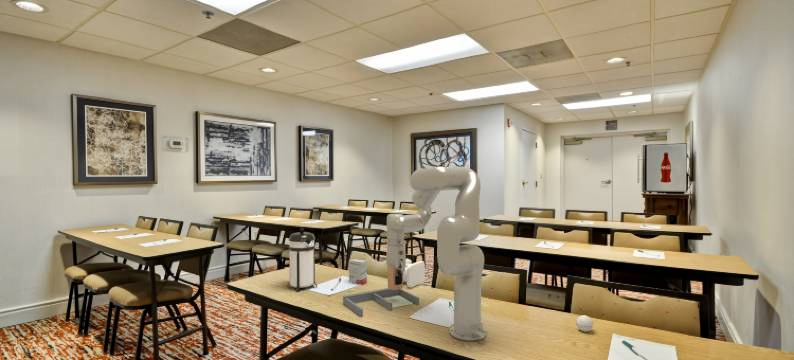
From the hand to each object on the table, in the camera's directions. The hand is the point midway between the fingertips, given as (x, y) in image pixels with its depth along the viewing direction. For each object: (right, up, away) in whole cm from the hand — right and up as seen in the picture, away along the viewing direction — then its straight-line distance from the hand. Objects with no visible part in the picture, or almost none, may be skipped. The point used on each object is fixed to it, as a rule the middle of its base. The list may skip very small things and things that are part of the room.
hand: (395, 282), depth 171 cm
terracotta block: (0, -3, 0) cm, 3 cm away
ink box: (-20, -8, +30) cm, 37 cm away
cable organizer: (+7, -9, +27) cm, 29 cm away
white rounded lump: (+68, -10, -32) cm, 76 cm away
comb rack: (-6, -9, -3) cm, 11 cm away
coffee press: (-48, -9, +23) cm, 54 cm away
